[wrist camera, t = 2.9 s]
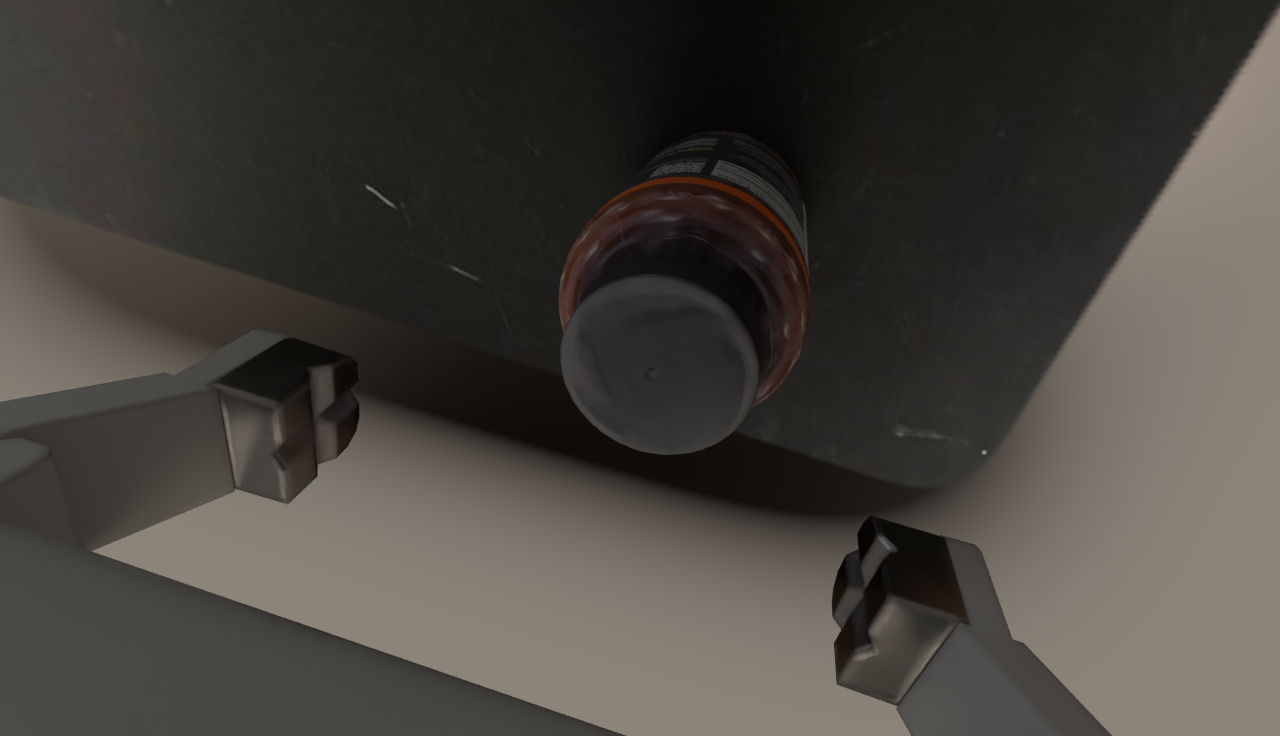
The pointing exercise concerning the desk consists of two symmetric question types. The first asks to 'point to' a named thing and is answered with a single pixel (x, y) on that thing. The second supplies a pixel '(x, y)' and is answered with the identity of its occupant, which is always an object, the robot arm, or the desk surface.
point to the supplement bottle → (687, 295)
